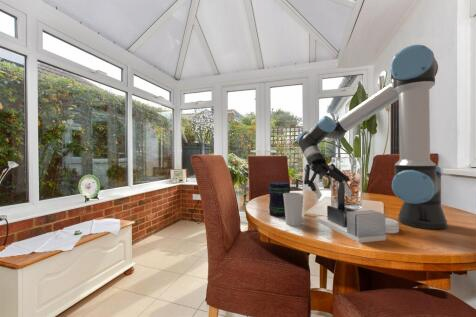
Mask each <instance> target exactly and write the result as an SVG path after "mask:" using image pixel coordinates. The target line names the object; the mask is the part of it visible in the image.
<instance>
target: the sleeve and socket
mask: <svg viewBox="0 0 476 317" xmlns="http://www.w3.org/2000/svg"><path fill="white" fill-rule="evenodd" d="M326 207H327V208H326V209H327V210H326V212H327V215H326V216H327V220H329V221H331V222H333V223H335V224H337V225H340V226H342V227H347V233H349V234H351V235H353V236H355V237H356V236H357V238H363V237H373V236H383V235H386V233H385V218H386V213H383V212H380V211H377V210H374V209H367V210H355V209H353V208H349V207H346V206H345V211H343V210H340V209H338V206H337V205H336V207H335V206H332V205H327V206H326ZM345 213H347V222H346V221H345Z"/></svg>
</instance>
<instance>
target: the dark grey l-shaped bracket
mask: <svg viewBox="0 0 476 317" xmlns="http://www.w3.org/2000/svg"><path fill="white" fill-rule="evenodd" d="M336 186H337V189H336V192H337V194H336V195H337V199H336V200H337V204H336V207H337V206H338V207H337V208H338V209H340V210H343V211H345V207H346V199H345V198H346V194H345V183H343V182H338V181H337V184H336ZM345 221H346V222H347V213H345Z"/></svg>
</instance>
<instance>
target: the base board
mask: <svg viewBox="0 0 476 317" xmlns="http://www.w3.org/2000/svg"><path fill="white" fill-rule="evenodd" d="M315 221H316V222H318V223H320V224H322V225H324V226H325V227H328V228H329V229H332V230H334V231H335V232H337V233H339V234H340V235H343V236H344V237H347V238H348V239H350V240H353V241H354V242H356V243H358V244H359V243H360V244H362V243H370V242H381V241H386V240H387V235H386V234H385V235H383V236H373V237H363V238H357V236H356V237H355V236H353V235H351V234H349V233H347V227H342V226H340V225H337V224H335V223H333V222H331V221H329V220H327V215H324V216H323V215H321V216H315Z"/></svg>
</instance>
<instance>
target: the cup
mask: <svg viewBox="0 0 476 317" xmlns="http://www.w3.org/2000/svg"><path fill="white" fill-rule="evenodd" d="M283 196H284V206H285V217H284V218H285V225H287V226H290V227H300V226H302V225H303V222H302V220H303V206H304V205H303V204H304V194H303V193H300V192H290V193H284V194H283Z"/></svg>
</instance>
